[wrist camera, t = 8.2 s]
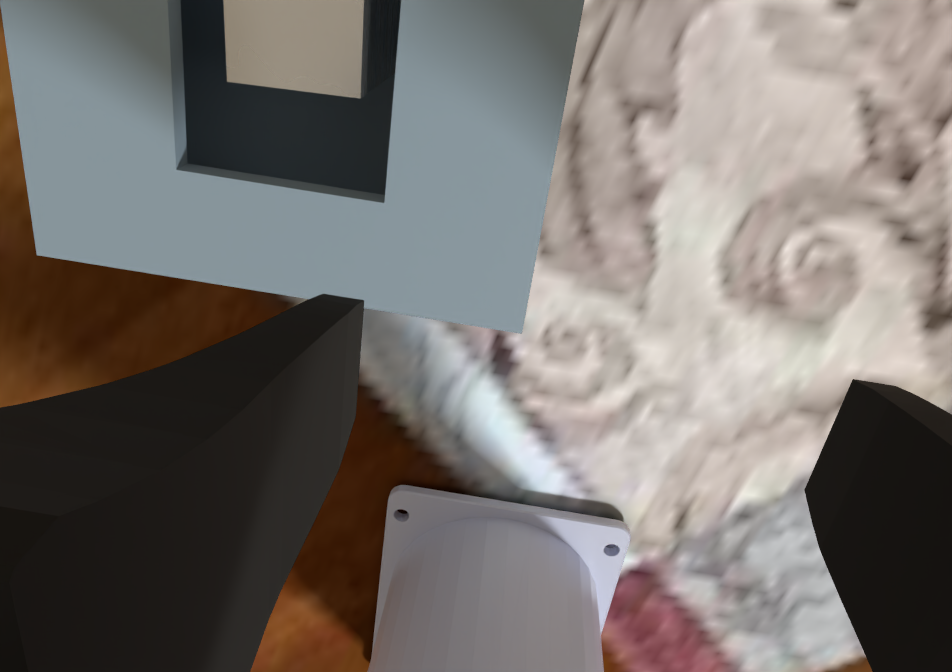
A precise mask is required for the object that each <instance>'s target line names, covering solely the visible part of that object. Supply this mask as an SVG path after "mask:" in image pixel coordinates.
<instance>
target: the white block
mask: <svg viewBox="0 0 952 672" xmlns="http://www.w3.org/2000/svg"><path fill="white" fill-rule="evenodd" d="M223 2H224V24H225V47H226V69H227V82H233V83H241V84H249V85H257V86H265V87H273V88H281V89H288V90H296V91H304V92H312V93H320V94H328V95H336V96H343V97H351V98H359V99H361V98H362V97H363V96H365V95H366V94H368V93H369V92H370V91H372V90H373V89H374V88H376V87H377V86H378V85H380V84H381V83H383V82H384V81H385V80H387V79H388V78H389V77H391V76H392V75H394V74H395V69H396V57H397V45H398V33H399V21H400V9H401V0H223Z"/></svg>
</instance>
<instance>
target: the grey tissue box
mask: <svg viewBox="0 0 952 672" xmlns="http://www.w3.org/2000/svg"><path fill="white" fill-rule="evenodd" d="M583 5H584V0H401V9H400V21H399V33H398V45H397V57H396V69H395V74H394V75H392V76H391V77H389V78H388V79H387V80H385V81H384V82H383V83H381V84H380V85H378V86H377V87H376V88H374V89H373V90H372V91H370V92H369V93H368V94H366V95H365V96H363V97H362V98H361V99H359V98H351V97H343V96H336V95H328V94H320V93H312V92H304V91H296V90H288V89H281V88H273V87H265V86H257V85H249V84H241V83H233V82H227V69H226V47H225V24H224V2H223V0H0V6H1V12H2V19H3V26H4V33H5V40H6V47H7V54H8V61H9V67H10V74H11V81H12V88H13V95H14V102H15V109H16V116H17V122H18V129H19V136H20V143H21V150H22V157H23V164H24V171H25V177H26V184H27V191H28V198H29V205H30V212H31V219H32V226H33V232H34V239H35V246H36V253H37V255H39V256H45V257H51V258H57V259H64V260H70V261H76V262H82V263H88V264H95V265H101V266H107V267H113V268H119V269H125V270H132V271H138V272H144V273H150V274H156V275H162V276H169V277H175V278H181V279H187V280H193V281H200V282H206V283H212V284H218V285H224V286H230V287H237V288H243V289H249V290H255V291H261V292H268V293H274V294H280V295H286V296H292V297H298V298H305V299H311V298H313V297H316V296H318V295H321V294H329V295H335V296H341V297H348V298H354V299H360V300H364V308H366V309H373V310H379V311H385V312H391V313H397V314H403V315H410V316H416V317H422V318H428V319H434V320H440V321H447V322H453V323H459V324H465V325H471V326H478V327H484V328H490V329H496V330H502V331H508V332H515V333H521V334H522V330H523V325H524V319H525V314H526V309H527V303H528V298H529V293H530V287H531V282H532V277H533V271H534V266H535V261H536V255H537V250H538V245H539V239H540V234H541V229H542V223H543V218H544V213H545V207H546V202H547V197H548V191H549V186H550V181H551V175H552V170H553V165H554V159H555V154H556V149H557V143H558V138H559V133H560V127H561V122H562V117H563V111H564V106H565V101H566V95H567V90H568V85H569V79H570V74H571V69H572V63H573V58H574V53H575V47H576V42H577V37H578V31H579V26H580V21H581V15H582V10H583Z"/></svg>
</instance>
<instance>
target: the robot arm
mask: <svg viewBox="0 0 952 672" xmlns="http://www.w3.org/2000/svg"><path fill="white" fill-rule="evenodd" d="M363 311H364V300H360V299H354V298H348V297H341V296H335V295H329V294H321V295H318V296H316V297H313V298H311V299H309V300H307V301H305V302H303V303H301V304H299V305H297V306H295V307H293V308H291V309H289V310H287V311H285V312H283V313H281V314H279V315H277V316H275V317H273V318H271V319H269V320H267V321H265V322H263V323H261V324H258V325H256V326H254V327H252V328H250V329H248V330H246V331H244V332H242V333H240V334H238V335H236V336H233V337H231V338H229V339H226V340H224V341H222V342H219V343H217V344H215V345H212V346H210V347H208V348H205V349H203V350H201V351H198V352H196V353H194V354H191V355H189V356H187V357H184V358H182V359H179V360H177V361H174V362H171V363H169V364H166V365H163V366H160V367H157V368H155V369H152V370H149V371H146V372H142V373H139V374H136V375H133V376H130V377H126V378H123V379H120V380H117V381H114V382H110V383H107V384H103V385H100V386H95V387H91V388H87V389H83V390H79V391H74V392H70V393H66V394H62V395H57V396H53V397H49V398H45V399H40V400H36V401H32V402H28V403H23V404H18V405H13V406H8V407H2V408H0V672H250V670H251V668H252V665H253V662H254V659H255V656H256V654H257V651H258V648H259V645H260V642H261V639H262V637H263V634H264V631H265V628H266V625H267V623H268V620H269V617H270V615H271V613H272V610H273V608H274V606H275V603H276V601H277V599H278V596H279V594H280V592H281V589H282V587H283V585H284V583H285V581H286V579H287V577H288V575H289V573H290V571H291V569H292V567H293V565H294V562H295V560H296V558H297V556H298V554H299V552H300V550H301V548H302V546H303V544H304V542H305V540H306V538H307V536H308V533H309V531H310V529H311V527H312V525H313V523H314V521H315V519H316V517H317V515H318V513H319V511H320V509H321V506H322V504H323V502H324V500H325V498H326V496H327V494H328V492H329V490H330V487H331V485H332V483H333V481H334V479H335V477H336V475H337V472H338V470H339V467H340V464H341V461H342V458H343V455H344V452H345V449H346V446H347V443H348V440H349V436H350V433H351V430H352V427H353V423H354V420H355V417H356V405H357V391H358V378H359V364H360V351H361V338H362V324H363ZM805 494H806V498H807V502H808V507H809V511H810V515H811V519H812V523H813V527H814V530H815V534H816V538H817V541H818V545H819V548H820V551H821V553H822V556H823V558H824V561H825V563H826V566H827V568H828V570H829V573H830V575H831V577H832V580H833V582H834V584H835V587H836V589H837V591H838V594H839V596H840V598H841V601H842V603H843V605H844V607H845V610H846V612H847V614H848V617H849V619H850V621H851V623H852V626H853V628H854V630H855V632H856V635H857V637H858V639H859V641H860V644H861V646H862V648H863V650H864V653H865V655H866V657H867V660H868V662H869V664H870V666H871V669H872V671H873V672H952V415H951V414H950V413H948V412H946V411H944V410H943V409H941V408H939V407H937V406H935V405H934V404H932V403H930V402H928V401H926V400H924V399H922V398H920V397H919V396H916V395H914V394H912V393H910V392H908V391H906V390H903V389H901V388H899V387H896V386H892V385H885V384H879V383H873V382H867V381H861V380H854V379H853V380H852V383H851V385H850V387H849V389H848V392H847V394H846V396H845V399H844V401H843V403H842V405H841V408H840V410H839V412H838V415H837V417H836V419H835V422H834V424H833V426H832V428H831V431H830V433H829V435H828V438H827V440H826V442H825V444H824V447H823V449H822V451H821V454H820V456H819V458H818V460H817V463H816V465H815V467H814V470H813V472H812V474H811V476H810V479H809V481H808V483H807V486H806V488H805ZM398 509H403V510H405V511H407V512H408V513H407V514H402V513H399V512H398V511H397V510H398ZM629 542H630V530H629V528H628V526H627V524H625V523H624V522H622V521H619V520H615V519H609V518H603V517H597V516H591V515H585V514H579V513H573V512H567V511H561V510H555V509H549V508H542V507H536V506H530V505H524V504H518V503H512V502H506V501H500V500H494V499H488V498H482V497H476V496H470V495H464V494H458V493H451V492H445V491H439V490H433V489H427V488H421V487H415V486H409V485H399V486H396V487H394V488H393V489H392V490H391V492H390V495H389V499H388V505H387V515H386V524H385V533H384V543H383V552H382V562H381V571H380V581H379V590H378V600H377V609H376V619H375V628H374V637H373V647H372V656H371V661H370V665H369V669H368V672H604V669H603V657H602V645H601V633H602V630H603V627H604V623H605V620H606V617H607V614H608V610H609V607H610V604H611V601H612V597H613V594H614V591H615V588H616V584H617V581H618V578H619V575H620V571H621V568H622V565H623V562H624V558H625V555H626V552H627V549H628V546H629ZM609 544H614V545H617V546H616V547H614V548H608V547H605V546H607V545H609Z"/></svg>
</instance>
